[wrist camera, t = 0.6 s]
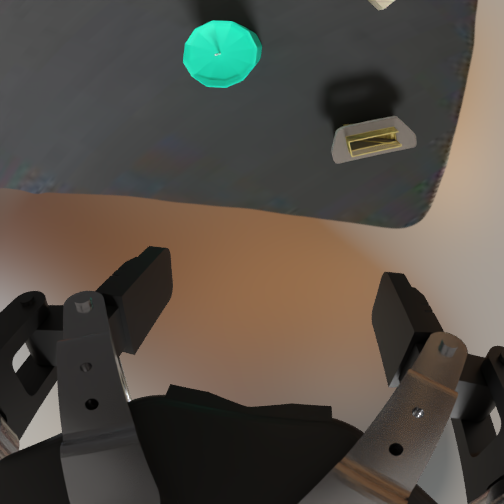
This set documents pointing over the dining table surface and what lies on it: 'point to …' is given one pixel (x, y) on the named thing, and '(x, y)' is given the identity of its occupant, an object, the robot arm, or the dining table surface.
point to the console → (380, 3)
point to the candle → (221, 53)
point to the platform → (371, 139)
